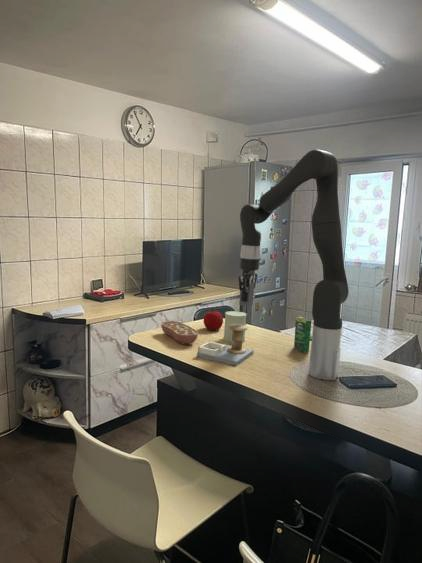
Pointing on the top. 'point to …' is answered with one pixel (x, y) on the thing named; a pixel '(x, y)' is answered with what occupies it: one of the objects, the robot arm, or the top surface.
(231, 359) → the board
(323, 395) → the top surface
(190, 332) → the bread loaf
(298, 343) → the coffee box
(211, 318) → the apple
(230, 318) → the can
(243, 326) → the bobbin
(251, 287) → the gray rectangular block
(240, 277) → the robot arm
